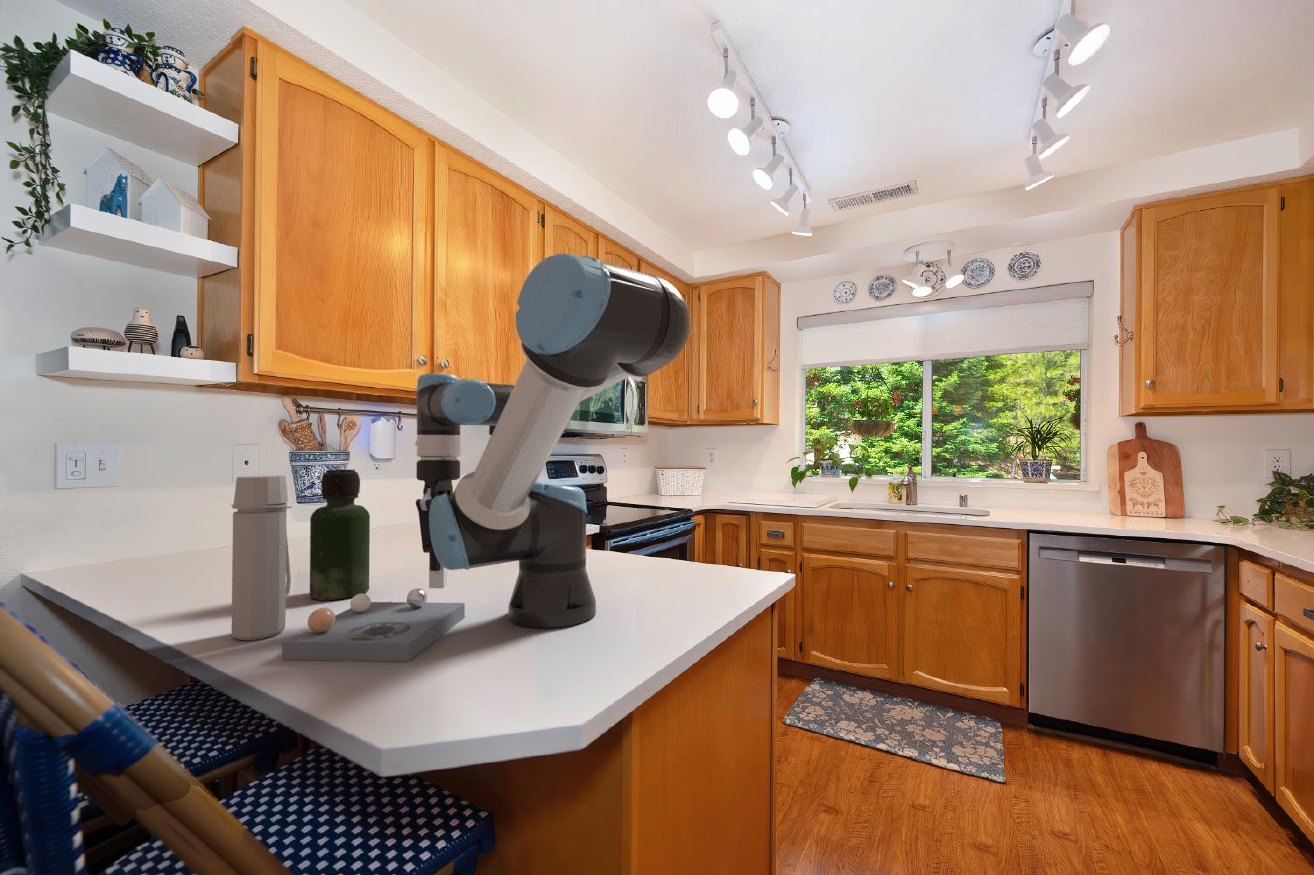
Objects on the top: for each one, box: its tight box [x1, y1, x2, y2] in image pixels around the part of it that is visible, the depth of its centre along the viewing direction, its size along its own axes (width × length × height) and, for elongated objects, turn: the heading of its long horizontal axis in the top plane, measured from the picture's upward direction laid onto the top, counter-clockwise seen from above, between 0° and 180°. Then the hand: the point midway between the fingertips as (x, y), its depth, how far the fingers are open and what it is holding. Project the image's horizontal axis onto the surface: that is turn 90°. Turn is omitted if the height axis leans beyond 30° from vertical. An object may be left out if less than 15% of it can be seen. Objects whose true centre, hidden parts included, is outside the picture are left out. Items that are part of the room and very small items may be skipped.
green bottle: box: [309, 469, 371, 601], centre depth 113 cm, size 10×10×25 cm
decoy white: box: [350, 593, 372, 613], centre depth 92 cm, size 3×3×3 cm
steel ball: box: [406, 587, 428, 608], centre depth 95 cm, size 3×3×3 cm
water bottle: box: [230, 474, 292, 641], centre depth 90 cm, size 9×8×25 cm
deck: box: [281, 601, 466, 663], centre depth 88 cm, size 18×20×2 cm
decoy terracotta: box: [307, 607, 336, 633], centre depth 82 cm, size 4×4×4 cm
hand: (438, 587), depth 103 cm, fingers closed
